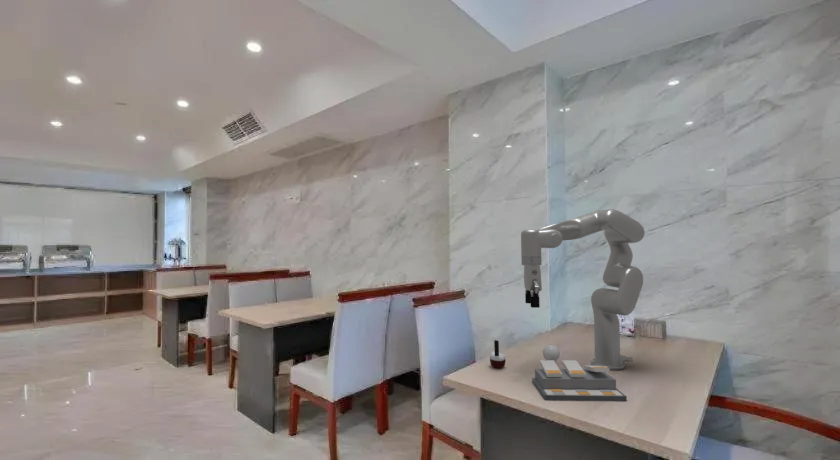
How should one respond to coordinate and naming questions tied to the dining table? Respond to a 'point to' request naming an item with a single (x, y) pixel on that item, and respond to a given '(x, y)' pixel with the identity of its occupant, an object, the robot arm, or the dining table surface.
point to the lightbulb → (551, 352)
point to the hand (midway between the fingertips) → (532, 305)
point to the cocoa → (497, 357)
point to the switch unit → (578, 387)
